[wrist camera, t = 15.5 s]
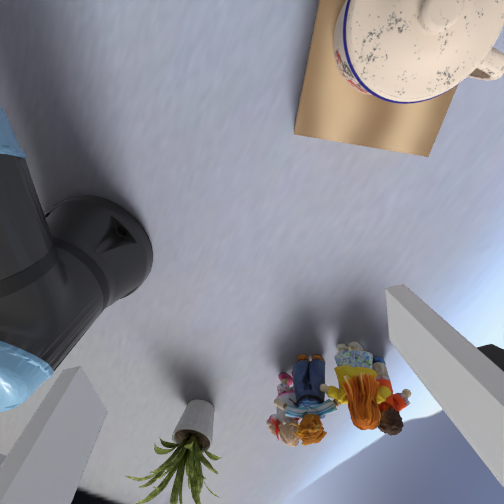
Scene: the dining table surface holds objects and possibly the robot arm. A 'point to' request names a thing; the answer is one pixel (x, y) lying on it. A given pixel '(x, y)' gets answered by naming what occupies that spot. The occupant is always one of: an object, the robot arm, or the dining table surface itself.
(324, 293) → the dining table surface
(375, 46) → the teacup with lid
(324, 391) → the doll family
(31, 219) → the robot arm
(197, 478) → the house plant
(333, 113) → the oak slab
